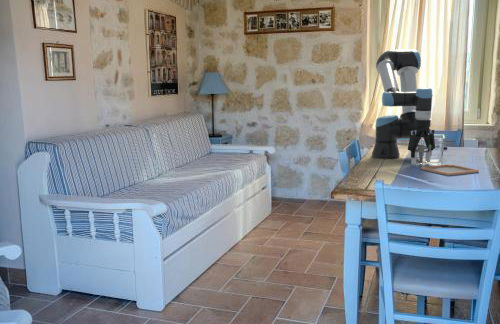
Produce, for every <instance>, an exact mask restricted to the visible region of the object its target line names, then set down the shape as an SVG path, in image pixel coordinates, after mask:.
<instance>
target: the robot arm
mask: <svg viewBox="0 0 500 324" xmlns="http://www.w3.org/2000/svg"><path fill="white" fill-rule="evenodd" d="M421 65H422V60H421V54H420V52H419V51H418V50H417V49H389V50H386V51H384V52H383V53H381V54H380V56H378V58H377V60H376V63H375V66H376V67H375V68H376V71H377V72H378V73H379V75H380V80H381V85H382V87H383V92H382V95H381V103H382V106H383V107H401V108H402V113H401V114H400V115H397V114H395V115H394V114H393V115H384V116H379V117H378V118H376V119H375V126H374V127H375V141H374V146H373V150H372V152H371V157H372V158H373V159H381V160H396V159H399V158H400V156H401V155H400V150H399V147H398V139H399V140H401V139H402V140H404V139H405V140H407V139H409V140H408V145H407V151H409V152H410V158H411V160H410V161H411V165H417V158H418V157H417V155H418V154H417V153H418V152H415V151H416V149H418V147H417V146H418V144H419V143H420V140H422V138H423V140H424V145H425V148H429V147H428V146H429V145H432V148H431V151H430V152H428V153H425V158H424V159H425V161H427V162H430V163H431V157H432V153H433V152H432V151H434V149H436V142H435V141H436V140H435V129H430V127H431V125H432V121H431V118H432V104H433V89H432V88H429V87H423V88H422V87H419V88H417V76H416V75H417V74H418V71H419V70H420V68H421ZM394 71H396V74H397V75H398V76H399V80H400V81H399V82H400V83H399V85H400V88H399V85H398V82H397V79H396V75H395V72H394ZM428 150H429V149H425V151H428ZM425 161H424V162H425Z"/></svg>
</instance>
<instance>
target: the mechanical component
mask: <svg viewBox="0 0 500 324" xmlns="http://www.w3.org/2000/svg"><path fill="white" fill-rule="evenodd" d="M428 147H429V148H427V147H426V145H425V144H424V143H423V144H421V143H420V144H419V143H418V146H417V148H416V151H415V152H417V153H418V156H419V159H418V160H419V162H418V164H419V163H422V164H423V159H424V158H423V157H424V155H425V154H426V153H428V152H430V151H431V148H432V145H429V146H428ZM428 149H429V150H428ZM426 150H428V151H426ZM424 153H425V154H424Z"/></svg>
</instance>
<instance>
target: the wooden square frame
mask: <svg viewBox="0 0 500 324" xmlns="http://www.w3.org/2000/svg"><path fill="white" fill-rule="evenodd" d="M421 169H422V170H421ZM420 170H421V171H424V170H425V171H426V172H429V173H434V174H438V175H442V176H446V177H447V176H448V177H451V176H458V175H459V176H460V175H469V174H479V171H480V170H479V169H477V168H471V167H467V166H462V165H456V164H452V163H451V164H450V163H448V164H447V163H446V164H437V165H428V166H427V165H425V166H420Z"/></svg>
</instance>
